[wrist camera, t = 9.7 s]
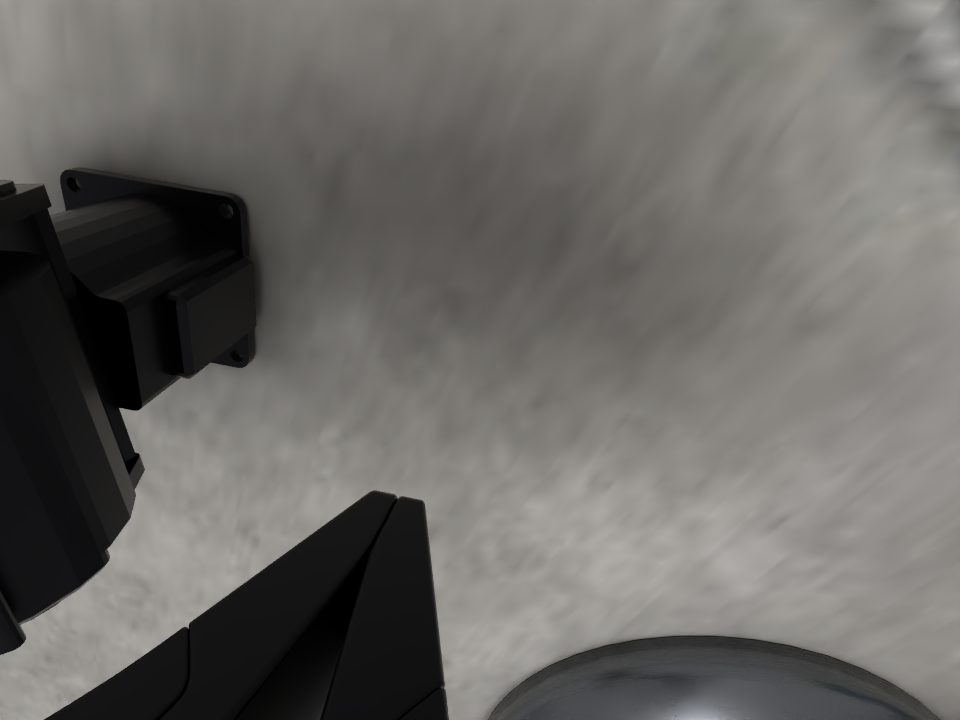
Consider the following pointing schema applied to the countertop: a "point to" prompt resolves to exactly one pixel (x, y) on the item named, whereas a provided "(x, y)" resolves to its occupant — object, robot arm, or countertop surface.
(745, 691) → the turntable
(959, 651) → the countertop surface
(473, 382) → the countertop surface
